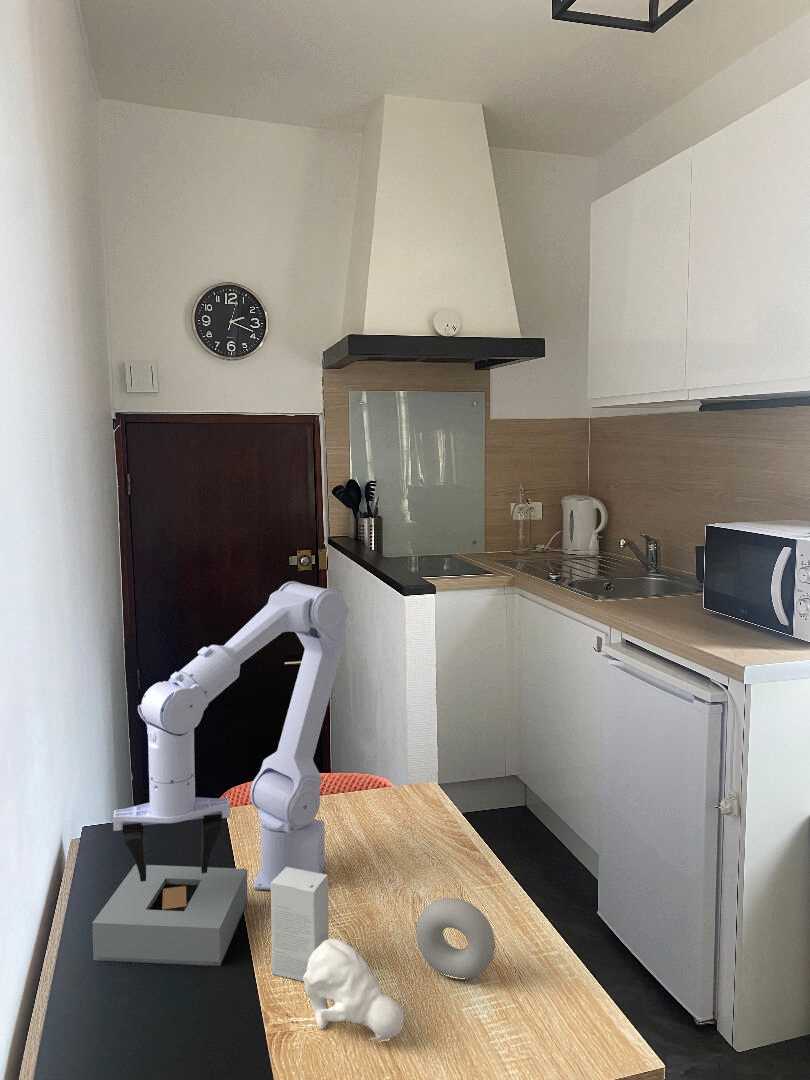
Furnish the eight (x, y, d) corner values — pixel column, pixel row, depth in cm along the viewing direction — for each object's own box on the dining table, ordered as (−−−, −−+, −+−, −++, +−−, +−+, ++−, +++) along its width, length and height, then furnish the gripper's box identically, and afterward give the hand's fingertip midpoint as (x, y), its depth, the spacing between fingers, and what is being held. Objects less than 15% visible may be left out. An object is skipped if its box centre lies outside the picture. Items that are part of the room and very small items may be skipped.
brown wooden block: (186, 913, 110) (186, 885, 109) (186, 934, 105) (186, 906, 105) (163, 916, 109) (163, 888, 109) (163, 938, 104) (162, 909, 104)
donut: (411, 974, 99) (412, 898, 97) (420, 958, 102) (422, 883, 101) (490, 996, 95) (492, 916, 94) (497, 978, 98) (500, 901, 97)
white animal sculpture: (334, 921, 95) (421, 967, 88) (328, 985, 96) (413, 1035, 90) (299, 949, 89) (389, 1000, 83) (294, 1017, 91) (381, 1071, 84)
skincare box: (329, 964, 100) (330, 874, 99) (315, 986, 96) (315, 892, 95) (286, 954, 102) (285, 865, 101) (269, 974, 98) (269, 882, 97)
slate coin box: (247, 902, 114) (247, 868, 113) (220, 965, 100) (219, 928, 99) (136, 897, 114) (135, 864, 114) (93, 960, 100) (92, 922, 100)
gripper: (226, 757, 110) (227, 851, 112) (114, 768, 106) (117, 865, 108) (230, 778, 104) (232, 877, 105) (111, 790, 99) (114, 893, 101)
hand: (174, 873), depth 106 cm, fingers open, 7 cm apart
